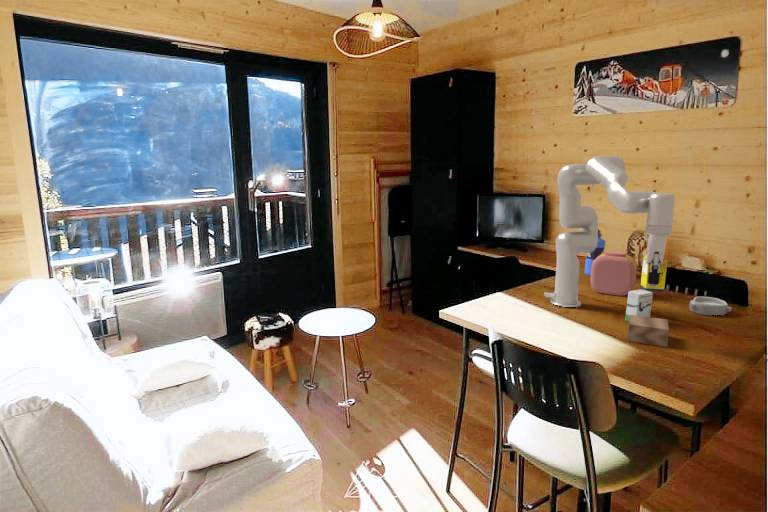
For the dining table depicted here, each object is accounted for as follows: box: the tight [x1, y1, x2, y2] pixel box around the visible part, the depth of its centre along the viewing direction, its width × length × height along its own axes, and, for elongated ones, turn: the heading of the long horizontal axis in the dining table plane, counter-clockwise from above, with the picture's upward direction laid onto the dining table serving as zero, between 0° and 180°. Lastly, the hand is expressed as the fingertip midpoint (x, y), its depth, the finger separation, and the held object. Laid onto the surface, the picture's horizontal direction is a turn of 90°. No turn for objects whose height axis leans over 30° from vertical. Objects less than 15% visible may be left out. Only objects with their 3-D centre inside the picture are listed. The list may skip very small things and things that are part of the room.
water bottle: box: [584, 228, 606, 277], centre depth 266 cm, size 9×9×25 cm
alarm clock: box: [589, 250, 638, 297], centre depth 228 cm, size 18×11×19 cm, turn 58°
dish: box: [688, 296, 733, 317], centre depth 201 cm, size 14×14×5 cm
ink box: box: [624, 288, 654, 323], centre depth 188 cm, size 9×5×12 cm, turn 117°
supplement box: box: [640, 255, 669, 292], centre depth 166 cm, size 6×6×11 cm
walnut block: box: [626, 315, 670, 348], centre depth 170 cm, size 12×12×6 cm
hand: (652, 281), depth 167 cm, fingers closed on supplement box, 7 cm apart
